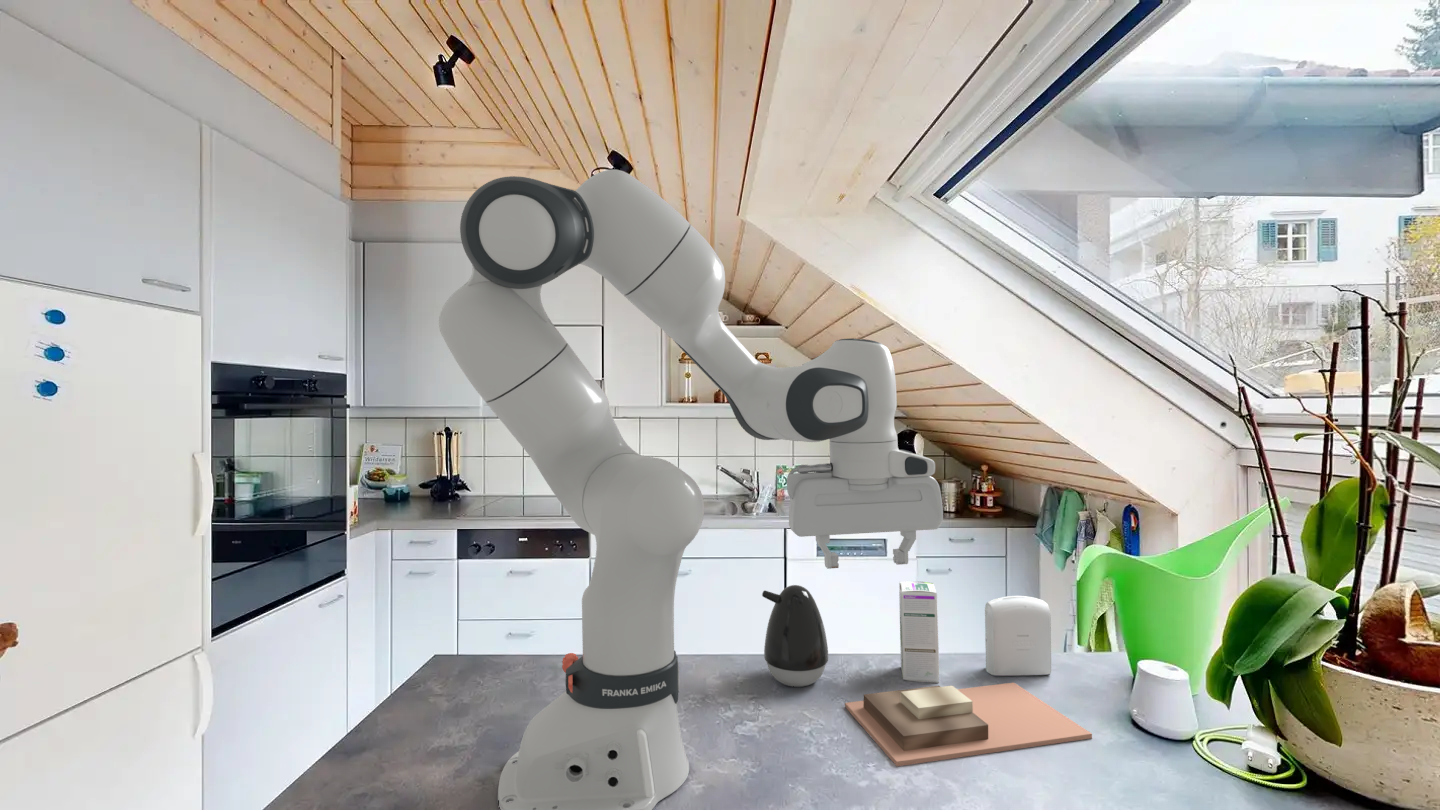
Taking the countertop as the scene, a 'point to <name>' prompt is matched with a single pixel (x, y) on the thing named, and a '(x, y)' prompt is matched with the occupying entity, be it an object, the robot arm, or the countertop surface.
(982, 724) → the walnut block
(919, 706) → the birch tile
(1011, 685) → the rubber mat
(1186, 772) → the countertop surface
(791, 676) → the pump dispenser
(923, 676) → the syrup box
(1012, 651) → the photo printer
